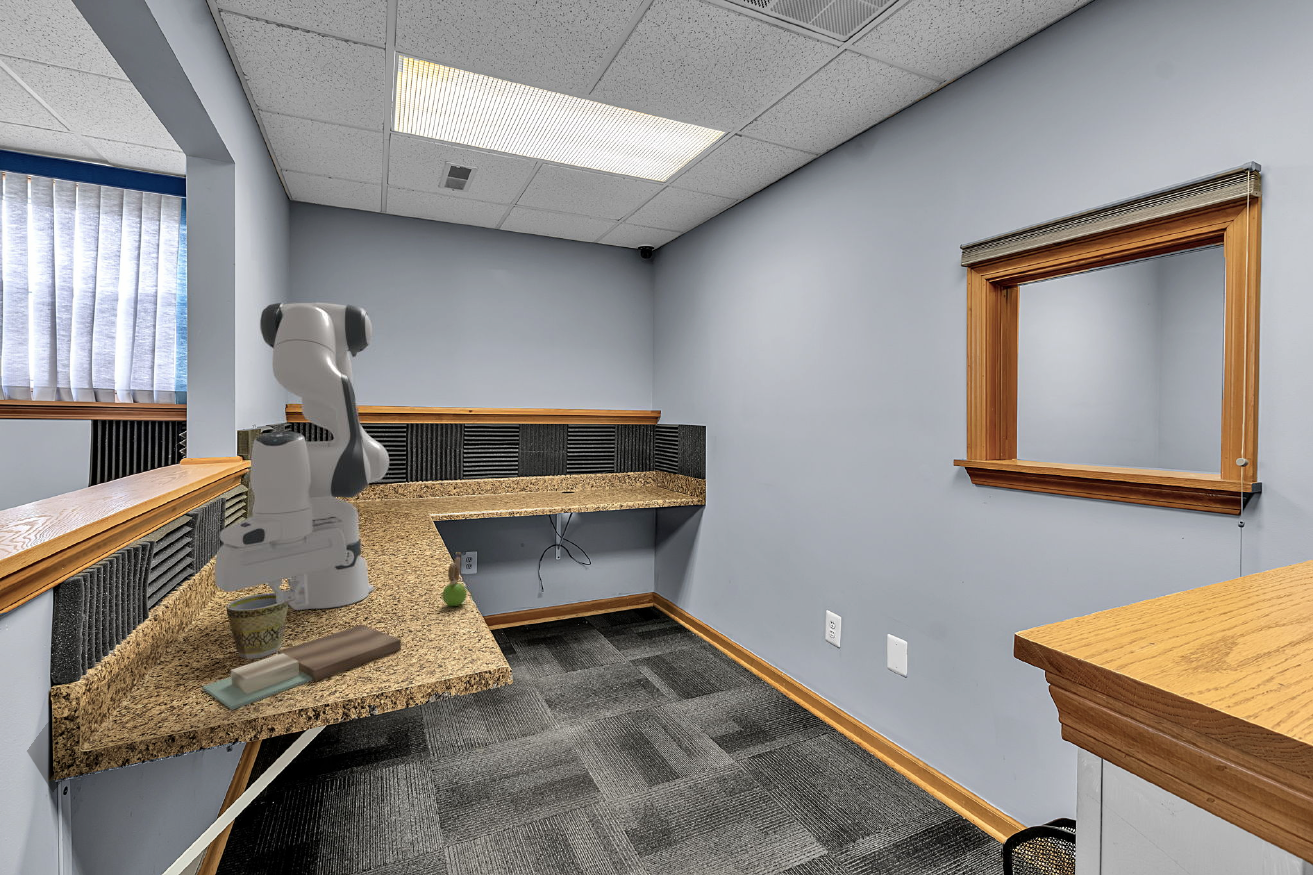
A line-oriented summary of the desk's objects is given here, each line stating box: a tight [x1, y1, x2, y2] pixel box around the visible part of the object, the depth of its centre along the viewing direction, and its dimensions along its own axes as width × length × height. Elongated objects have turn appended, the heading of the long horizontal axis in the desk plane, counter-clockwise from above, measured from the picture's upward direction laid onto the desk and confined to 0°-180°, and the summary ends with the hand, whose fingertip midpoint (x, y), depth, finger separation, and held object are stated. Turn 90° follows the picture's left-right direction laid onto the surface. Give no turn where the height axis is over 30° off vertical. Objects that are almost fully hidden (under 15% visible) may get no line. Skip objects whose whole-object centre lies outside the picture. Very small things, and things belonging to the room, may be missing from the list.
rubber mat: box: [202, 671, 313, 711], centre depth 100 cm, size 12×12×1 cm
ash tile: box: [230, 653, 299, 694], centre depth 101 cm, size 6×8×2 cm
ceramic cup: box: [225, 592, 289, 660], centre depth 115 cm, size 13×10×10 cm
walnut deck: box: [277, 624, 402, 682], centre depth 112 cm, size 14×16×2 cm
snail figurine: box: [441, 551, 467, 607], centre depth 140 cm, size 5×6×12 cm
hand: (287, 601), depth 104 cm, fingers closed
